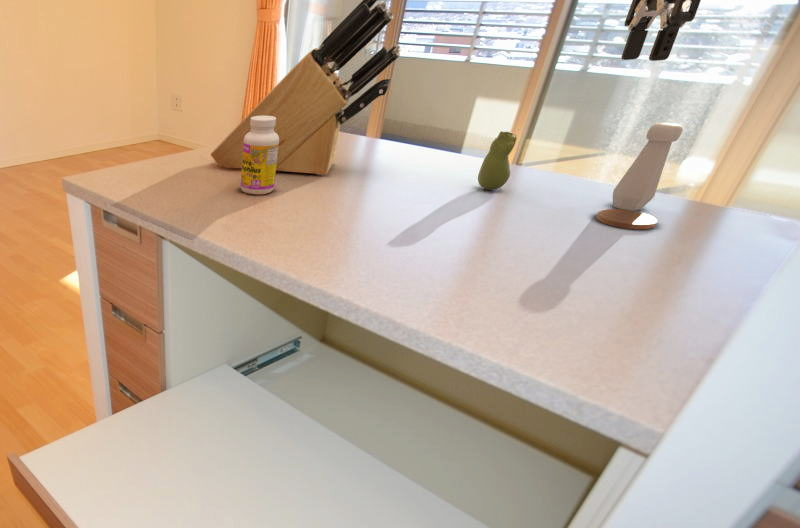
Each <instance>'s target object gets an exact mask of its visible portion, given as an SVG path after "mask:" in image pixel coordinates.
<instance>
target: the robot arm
mask: <svg viewBox="0 0 800 528" xmlns="http://www.w3.org/2000/svg"><path fill="white" fill-rule="evenodd" d="M701 1H702V0H632V1H631V3H630V6H629V9H628V12H627V15H626V17H625V21H624V27H628V29H627V30H628V31H629V33H628V36H627V39H626V42H625V45H624V48H623V51H622V54H621V57H620V59H621V60H623V61H630V60H637V59H639V57H640V56H641V53H642V51H643V50H642V49H643V47H644V45H645V42H646V39H647V35H648V32H649V30H648V29H649V28H650V26H651V25H652V24H653V22H654V21H655V19H656V18H657V17H660V21H659V22H660V23H659V28H660V29H658V32H657V34H656V37H655V40H654V42H653V45H652V48H651V50H650V53H649V56H648V60H649V61H650V62H656V61H657V62H658V61H666V60H667V59H668V58H669V57H670V55H671V52H672V50H673V46H674V44H675V41H676V39H677V36H678V34H679V30H680V29H681V28H683V27H684V26H685V24H686V23H689V22H692V21H693V20H694V19H695V17H696V14H697V12H698V9H699V7H700V4H701Z"/></svg>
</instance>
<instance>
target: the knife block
mask: <svg viewBox="0 0 800 528" xmlns="http://www.w3.org/2000/svg"><path fill="white" fill-rule="evenodd" d="M377 1H378V0H362V1H361V2H359V4H358V5H357V6H356V7H355V8H354V9H353V10H352V11H351V12H350V13H349V14H348V15H347V16H346V17H345V18H344V19H343V20H342V21H341V22H340V23H339V24H338V25H337V26H336V27H335V28H334V29H333V30H332V31H331V32H330V33H329V35H327V36H326V37H325V38H324V40H323V41H322V43H320V45H319V46H318V47H315V48H313V49H311V50H310V51H309V52H308V53H307V54H306V55H304V57H302V58H301V60H299V62H298V63H297V64H295V66H294V67H293V68H292V69H291V70H290V71H289V72H288V73H286V75H285V76H283V78H282V79H281V80H280V81H279V82H278V83H277V84H276V85H275V86H274V87H273V88H272V89H271V90H270V91H269V92H268V94H266V95H265V96H264V98H263V99H262V100H261V101H260V102H259V103H258V104H256V105H255V107H254V108H252V109H251V111H250V112H249V113H248V114H247V115H246V116H245V117H244V118H243V119H242V120H241V121H240V122H239V123H238V125H236V127H235V128H234V129H233V130H232V131H231V132H229V134H228V135H227V136H226V137H225V138H224V139H223V140H222V141H221V142H220V143H219V144H218V145H217V146H216V147H215V149H214V150H213V151H211V153H210V156H211V157H212V158H213V160H214V161H215V163H216V164H217V165H218V166H219V167H224V168H225V169H232V168H235V169H242V158H243V144H244V137H245V135H246V134H247V133H249V132H250V131H251V125H250V120H251V117H254V116H273V117H276V125H275V127H274V132H275V133H277V134H278V136H279V147H278V155H277V165H276V172H290V173H302V174H313V175H314V174H315V175H316V176H324V175H327V174H328V172H329V170H330V168H331V167H332V165H333V162H334V159H335V153H336V150H337V143H338V139H339V133H340V130H341V129H340V127H341V126H342V125H343V124H344V123H346V122H347V121H349V120H350V119H352V118H353V117H354V116H357V114H359V113H360V112H361V111H363V110H364V109H365V108H367V107H368V106H369V105H370V104H371V103H373V102H374V101H375V100H376V99H378V98H379V97H382V96H385V95H386V93H387V91H388V88H389V85H390V83H391V78H385V79H381V80H379V81H378V82H376V83H375V84H373V85H372V86H370V87H369V88H368V89H366V90H365V91H364V92H363V93H362V94H361V95H359V96H358V97H357V98H356V99H355V100H353V101H352V102H351V103H350V104H349V105H348V106H347V107H346V108H344V107H345V106H346V105H347V103H348V102H349V100H350V98H351V97H353V96H354V95H356V94H357V93H359V92H360V91H361V90H363V89H364V88H365V87H366V86H367V85H368V84H369V83H370V82H371V81H373V80H374V79H375V78H376V77H377V76H379V75H380V74H381V73H382V72H383V71H384V70H386V68H388V67H389V66H390V65H391V64H393V62H395V61H396V60H397V59H398V58H399V57H400V56H401V51H402V49H401V46H400V45H398V44H395V45H393V47H391V48H390V49H389V50H388V48H387V47H386V46H383V47H381V48H380V49H379V50H378V51H377V52H376V53H375V54H374V55H373V56H371V58H370V59H368V60H367V61H366V62H365V63H364V64H362V66H361V67H359V69H357V70H356V71H354V73H352V75H351V78H350V79H349V80H347V81H344V82H343V81H342V80H341V79H340V77H339V76H338V74H337V73H336V72H337V71H339V70H340V69H342V68H343V67H345V65H346V64H347V63H348V62H349V61H351V60H352V59H353V58H354V57H355V56H356V55H357V54H358V53H359V52H360V51H362V50H363V49H364V48H365V47H366V46H367V45H368V44H369V43H370V42H371V41H372V40H373V39H374V38H375V37H376V36H377V35H378V34H379V33H381V31H382V30H383V28H385V27H386V26H387V25H388V24H389V23H390V22H391V21H392V20H393V19H394V13H393V11H391V10H390V9H388V7H387V4H386V3H385V2H384V1H379V3H377V4H376V2H377ZM375 4H376V6H374V5H375ZM373 6H374V7H373ZM372 7H373V8H372ZM371 8H372V9H371ZM333 62H334V63H333ZM329 63H333V64H332V66H331V65H330V64H329ZM349 84H350V85H349ZM347 85H349V86H348V88H347V87H346V86H347ZM343 108H344V109H343Z"/></svg>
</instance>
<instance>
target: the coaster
mask: <svg viewBox="0 0 800 528" xmlns="http://www.w3.org/2000/svg"><path fill="white" fill-rule="evenodd" d="M595 219H596V220H597V221H598V222H600V223H602V224H604V225H607V226H611V227H614V228H620V229H626V230H638V231H639V230H640V231H641V230H650V229H654V228H655V227H656V225H657V223H658V219H657V218H656V217H654V216H652V215H651V214H648V213H644V212H639V211H630V210H622V209H618V208H611V209H610V208H609V209H602V210H599V211H597V214H596V216H595Z"/></svg>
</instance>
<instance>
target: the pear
mask: <svg viewBox="0 0 800 528" xmlns="http://www.w3.org/2000/svg"><path fill="white" fill-rule="evenodd" d="M517 138H518V137H517V134H514V133H512V132H510V131H502V130H501V131H500V132H499V133H498V135H497V137H495V139H493V141H492V142H491V144H490V147H489V150H488V153H486V155H485V157H484V159H483V162H482V163H481V166H480V169H479V171H478V175H477V183H478V185H479V186H480V187H481V188H483V189H484V190H489V191H494V190H498V189H500V188H502V187H503V186H504V185H505V184H506V183H507V182H508V181H509V179H510V176H511V168H510V160H509V155H510V154H511V152H512V151H513V149H514V148H515V146H516V143H517Z"/></svg>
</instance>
